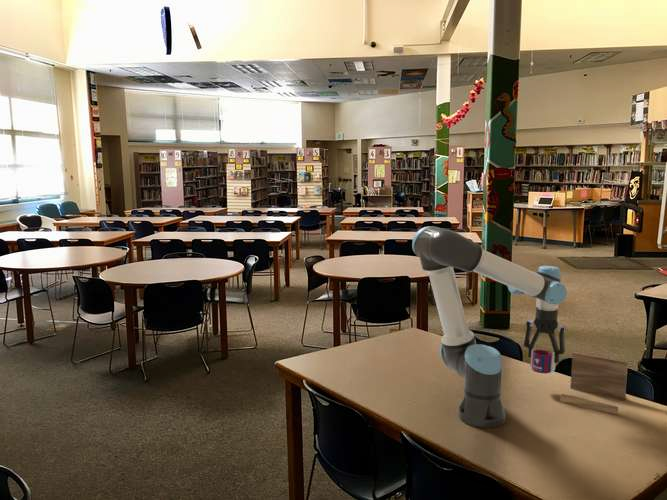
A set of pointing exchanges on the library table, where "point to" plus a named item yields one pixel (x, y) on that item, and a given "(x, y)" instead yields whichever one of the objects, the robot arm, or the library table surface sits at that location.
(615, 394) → the wall board
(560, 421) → the library table surface
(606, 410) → the cleat ledge
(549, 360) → the mug
